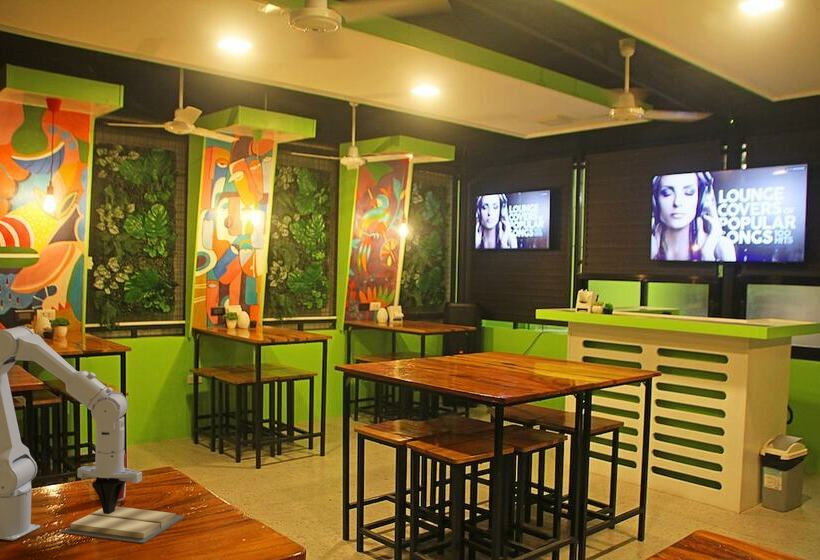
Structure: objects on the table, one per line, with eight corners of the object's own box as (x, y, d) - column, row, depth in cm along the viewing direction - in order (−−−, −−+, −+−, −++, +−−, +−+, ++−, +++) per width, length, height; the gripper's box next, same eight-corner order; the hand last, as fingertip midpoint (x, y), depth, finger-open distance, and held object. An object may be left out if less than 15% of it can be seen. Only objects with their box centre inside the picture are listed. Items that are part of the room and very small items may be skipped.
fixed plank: (90, 519, 159) (90, 513, 159) (107, 510, 165) (107, 504, 165) (161, 528, 155) (161, 522, 155) (176, 518, 161) (176, 513, 161)
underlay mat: (61, 532, 151) (61, 531, 151) (109, 508, 167) (109, 507, 167) (143, 543, 147) (143, 542, 147) (184, 517, 162) (184, 516, 162)
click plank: (70, 529, 152) (70, 523, 152) (88, 519, 158) (89, 514, 158) (143, 538, 148) (143, 533, 148) (159, 528, 154) (160, 523, 154)
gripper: (150, 448, 154) (149, 509, 154) (92, 442, 157) (92, 503, 157) (131, 456, 147) (130, 520, 147) (71, 450, 150) (70, 513, 150)
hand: (109, 512), depth 152 cm, fingers closed
